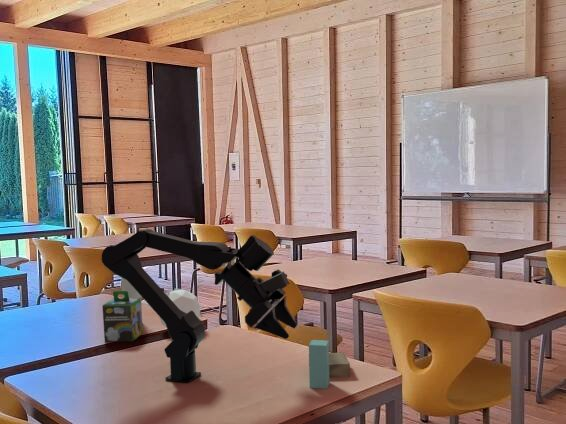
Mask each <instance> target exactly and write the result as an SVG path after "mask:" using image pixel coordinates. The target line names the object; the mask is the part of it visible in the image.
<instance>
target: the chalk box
mask: <svg viewBox="0 0 566 424" xmlns="http://www.w3.org/2000/svg"><path fill="white" fill-rule="evenodd" d="M122 294H123V295H124V296H125V297H124V298H122V297H119V295H122ZM112 295H113V299H111V300H108V301H107V302H106V303H104V304H102V320H103V321H102V322H103V334H104V342H123V343H124V342H127V343H128V342H131V343H133V342H135V340H137V339H138V337H140V336H141V335H142V334H143V333H144V330H143V329H144V328H143V312H142V313H141V303H142V297H141V298H129V295H128V292H127V291H122V290H114V291H113V292H112Z"/></svg>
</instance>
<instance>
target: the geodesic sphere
mask: <svg viewBox="0 0 566 424" xmlns="http://www.w3.org/2000/svg"><path fill="white" fill-rule="evenodd" d="M165 294H166V295H167V296H168V297H169V298H170V299H171V300H172V301H173V303H174V304H175V305H176V306H177V307H178V308H179V309H180V310H181V311H183V312H185V313H188V312H190V311H193V312H194V313H195V315H196V316H197V317H198V318H199V319H200V315H201V305H200V302H199V299H198V296H196V295H195V294H194V293H192V292H191V291H189V290H185V289H182V288H176V287H174V290H171V291H166V293H165ZM159 319H160V323H161V325H163V326H164V327H165V328H167V327H166V324H165V322H164V321H163V320H162V319H161V318H160V317H159Z"/></svg>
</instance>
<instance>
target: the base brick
mask: <svg viewBox="0 0 566 424" xmlns="http://www.w3.org/2000/svg"><path fill="white" fill-rule="evenodd" d="M343 377H346V378H347V377H351V363H350V361H349V360H348V357H347V355H346V353H345V352H329V378H343Z"/></svg>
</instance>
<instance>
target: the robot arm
mask: <svg viewBox="0 0 566 424" xmlns="http://www.w3.org/2000/svg"><path fill="white" fill-rule="evenodd" d="M146 248H149V249H152V250H157V251H160V252H165V253H169V254H172V255H176V256H179V257H182V258H183V257H184V258H187V259H190V260H191V261H192V262H194V263H196V264H197V265H199V266H201V267H203V268H206V269H208V270H213V271H214V270H218V269H219V268H223V266H225V265H226V266H225V267H224V268H223V269H222V270H221V271H217V272H215V273H214V285H215V286H218V285H219V284H222V282H225V283H226V285H227V286H228V287H229V288H230V289H231V290H232V291H233V292H234V293H235V294H236V295H237V297H236V298H237V300H238V301H240V302H241V301H243V302H245V304H246V305H248V307H249V312H247V314H246V315H245V316H244V322H245V324H246V326H248V327H249V328H250V329H252V328H254V329H255V330H256V329H257V330H260V331H263V332H266V333H269V334H271V335H275V336H277V337H279V338H282V339H286V340H287V339H288V338H289V337H290V334H289V333H288V331H287V330H286V329H285V327H284V326H283V325H282V323H283V324H285V325H286V326H288V327H290V328H292V329H296V328H297V326H298V324H297V322H296V321H295V319H294V317H293V315H292V313H291V312H290V310H289V308H288V306H287V297H288V296H287V295H286V294H287V292H286V291H285V290H284V288H286V287H288V285H290V281H289V279H288V274H287V273H285V271H281V270H280V269H279V268H278V269H275V270H273V271H272V272H271V277H269V278H266V279H264V280H263V278H261V277H257V278H256V277H255V276H254V275H253V274H252V273H251V272H252V271H256V272H258V271H259V270H260V269H261V268H262V267H263V266H264V265H265V264H266V263H267V262H268V260H270V259H271V258H272V256H274V255H275V251H274V250H273V248H272V247H271V245H269V243H267V242H265V241H264V240H262V239H260V238H258V237H257V236H256V235H255V234H251V235H250V236H249V237H248V238H247V240H246V241H245V243H244V244H243V245H241V247H239V248H233V247H229V246H228V245H227V244H226V243H224V242H218V241H196V240H195V241H194V240H190V239H187V238H183V237H179V236H175V235H171V234H167V233H162V232H158V231H154V230H152V229H150V228H145V229H140V230H138V231H136V232H135V233H134V234H133V235H131V236H129V237H127V238H126V239H124V240H122V241H121V242H119V243H117V244H116V243H115V244H112V245H108V246H107V247H105V248H104V249H103V250H102V253H101V262H102V264H103V266H104V267H105V268H107V269H108V270H109V271H110V272H112V273H113V274H114V275H116V276H118V277H120V278H121V277H122V278H124V279H126V280H127V281H128V282H129V283H130V284H131V285H132V286H133V287H134V289H135V290H136V291H137V292H138V293H139V294H140V295H141V299H143V300H144V301H145V302H146V304H148V306H150V308H151V309H152V310H153V311H154V312H155V314H157V316H158V317H159V319H160V318H161V319H162V320H163V321H164V322H165V324H166V327H165V328H166V329H167V333H168V335H169V337H170V338H171V342H170V343H168V345H167V346H165V348H164V354H165V355H166V357H167V358H169V360H170V361H169V362H170V363H169V364H170V365H169V367H170V368H169V369H170V375H167V376H166V377H165V380H166V381H171V382H176V383H177V382H179V383H187V384H188V383H190V382H191V381H194V380H195V379H197V378H199V376H201V375H202V372H200V371H196V370H197V368H196V366H197V365H196V364H197V363H196V362H197V361H196V349H197V348H199V344H200V343H201V342H202V341H203V340H204V338H205V336H206V329H205V327H204V325H203V323H204V321H203V320H201V319H200V317H199V318H198V317H197V316H196V315H195V313H194V312H193V311H190V312H188V313H185V312H183V311H181V310H180V309H179V308H178V307H177V306H176V305H175V304H174V303H173V301H172V300H171V299H170V298H169V297H168V296H167V295H166V293H165V291H164V290H163V289H162V288H161V287H160V285H158V284H157V282H156V281H155V280H154V279H153V278H152V277H151V276H150V275H149V274H148V273H147V272H146V270H145V269H144V268H143V266H142V262H141V259H140V256H139V255H138V254H139V253H141V252H142V251H143V250H145V249H146ZM234 260H235V262H234V263H233V264H228V263H231V262H232V261H234Z"/></svg>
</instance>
